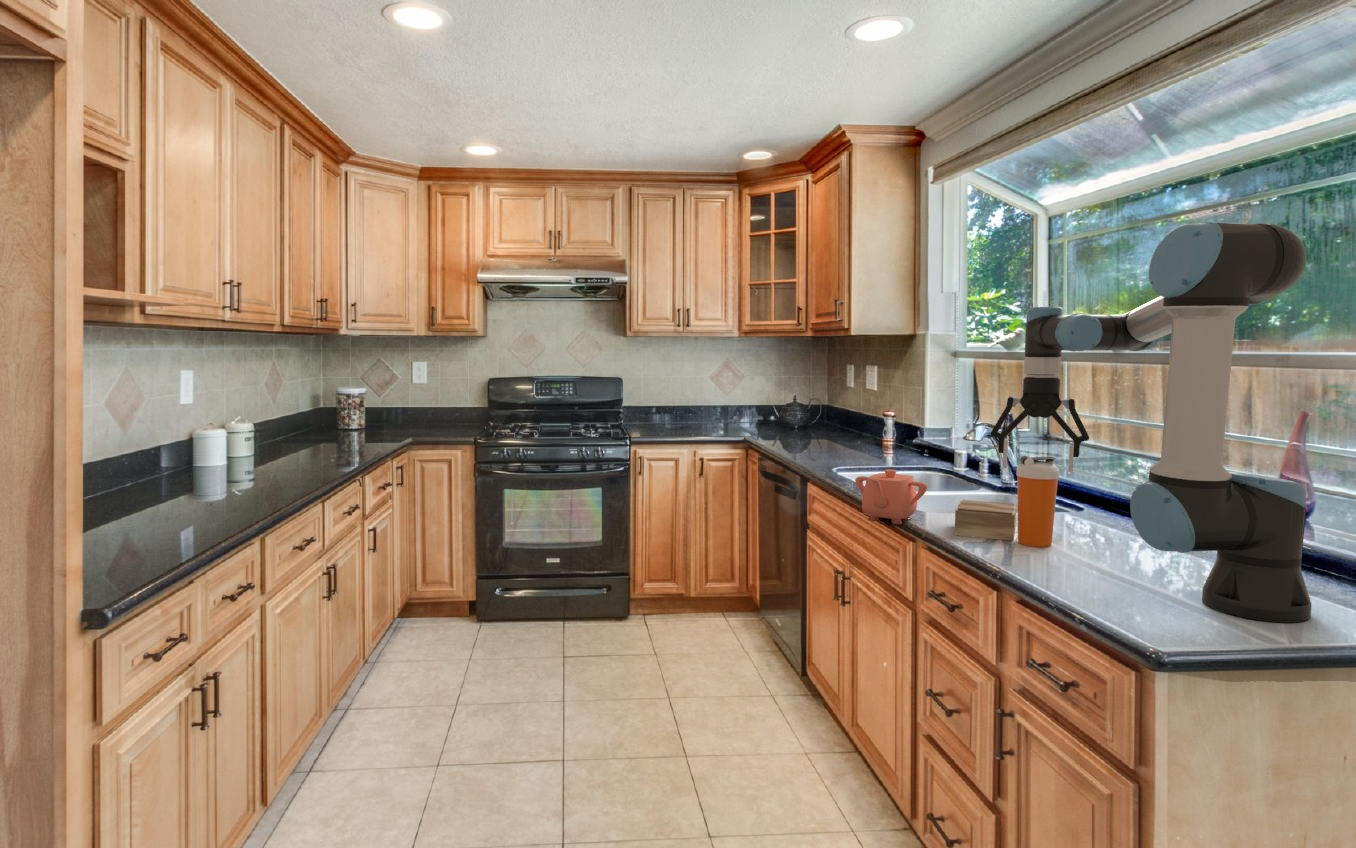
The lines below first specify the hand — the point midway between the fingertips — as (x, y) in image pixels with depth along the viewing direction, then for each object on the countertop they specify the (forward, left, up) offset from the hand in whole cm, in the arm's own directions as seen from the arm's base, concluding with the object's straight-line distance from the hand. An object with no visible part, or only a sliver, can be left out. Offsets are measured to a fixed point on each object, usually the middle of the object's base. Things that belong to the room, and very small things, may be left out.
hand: (1037, 469), depth 178 cm
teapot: (+11, +35, -17) cm, 40 cm away
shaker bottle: (0, 0, -17) cm, 17 cm away
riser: (+7, +11, -17) cm, 21 cm away
